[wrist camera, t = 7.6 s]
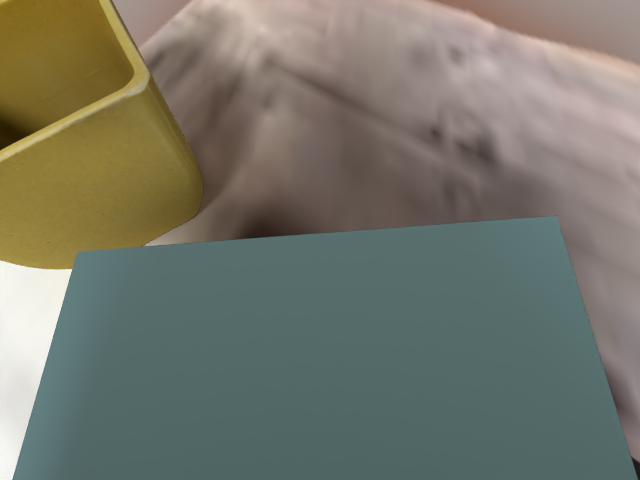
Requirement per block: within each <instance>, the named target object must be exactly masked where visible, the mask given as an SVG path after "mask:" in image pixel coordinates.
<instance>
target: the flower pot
mask: <svg viewBox="0 0 640 480" xmlns="http://www.w3.org/2000/svg"><path fill="white" fill-rule="evenodd" d="M202 199H203V180H202V176H201V172H200V169H199V166H198V164H197V161H196V159H195V156H194V154H193V152H192V150H191V149H190V147H189V145H188V143H187V141H186V139H185V137H184V135H183V134H182V132H181V130H180V128H179V126H178V124H177V122H176V120H175V119H174V117H173V115H172V113H171V111H170V109H169V107H168V106H167V104H166V102H165V100H164V98H163V96H162V95H161V93H160V91H159V89H158V87H157V85H156V83H155V81H154V79H153V77H152V75H151V73H150V71H149V69H148V67H147V65H146V63H145V61H144V60H143V58H142V56H141V54H140V52H139V50H138V48H137V46H136V44H135V42H134V41H133V39H132V37H131V35H130V33H129V31H128V29H127V27H126V25H125V24H124V22H123V20H122V18H121V16H120V14H119V13H118V11H117V9H116V7H115V5H114V3H113V2H112V0H0V260H1V261H5V262H9V263H13V264H17V265H21V266H26V267H33V268H41V269H73V265H74V262H75V258H76V255H77V252H79V251H92V250H105V249H118V248H132V247H141V246H143V245H145V244H146V243H148V242H150V241H152V240H153V239H155V238H157V237H159V236H161V235H162V234H164V233H166V232H168V231H170V230H172V229H173V228H175V227H177V226H179V225H181V224H182V223H184V222H186V221H188V220H190V219H192V218H193V217H194V216H195V215H196V214H197V213H198V211H199V209H200V206H201V203H202Z"/></svg>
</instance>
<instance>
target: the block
mask: <svg viewBox="0 0 640 480" xmlns="http://www.w3.org/2000/svg"><path fill="white" fill-rule="evenodd" d="M12 480H638V478H637V475H636V471H635V468H634V465H633V462H632V458H631V455H630V452H629V449H628V445H627V442H626V439H625V436H624V433H623V429H622V426H621V423H620V420H619V416H618V413H617V410H616V407H615V403H614V400H613V397H612V394H611V390H610V387H609V384H608V381H607V377H606V374H605V371H604V368H603V364H602V361H601V358H600V355H599V352H598V348H597V345H596V342H595V339H594V335H593V332H592V329H591V326H590V322H589V319H588V316H587V313H586V309H585V306H584V303H583V300H582V296H581V293H580V290H579V287H578V284H577V280H576V277H575V274H574V271H573V267H572V264H571V261H570V258H569V254H568V251H567V248H566V245H565V241H564V238H563V235H562V232H561V228H560V225H559V222H558V219H557V215H556V216H543V217H530V218H517V219H503V220H490V221H477V222H463V223H450V224H437V225H424V226H410V227H397V228H384V229H371V230H357V231H344V232H331V233H317V234H304V235H291V236H278V237H264V238H251V239H238V240H225V241H211V242H198V243H185V244H171V245H158V246H145V247H132V248H118V249H105V250H92V251H79V252H77V255H76V258H75V262H74V265H73V269H72V272H71V276H70V279H69V283H68V286H67V290H66V293H65V297H64V301H63V304H62V308H61V311H60V315H59V318H58V322H57V325H56V329H55V332H54V336H53V339H52V343H51V346H50V350H49V353H48V357H47V360H46V364H45V367H44V371H43V374H42V378H41V381H40V385H39V388H38V392H37V395H36V399H35V402H34V406H33V409H32V413H31V416H30V420H29V423H28V427H27V430H26V434H25V437H24V441H23V444H22V448H21V451H20V455H19V458H18V462H17V465H16V469H15V472H14V476H13V479H12Z"/></svg>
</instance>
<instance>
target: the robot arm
mask: <svg viewBox="0 0 640 480" xmlns="http://www.w3.org/2000/svg"><path fill="white" fill-rule="evenodd" d="M631 458H632V462H633V465H634V468H635V471H636V475H637V478H638V480H640V462H639V461H637V460H636V459H634V458H633V457H632V456H631Z"/></svg>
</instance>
